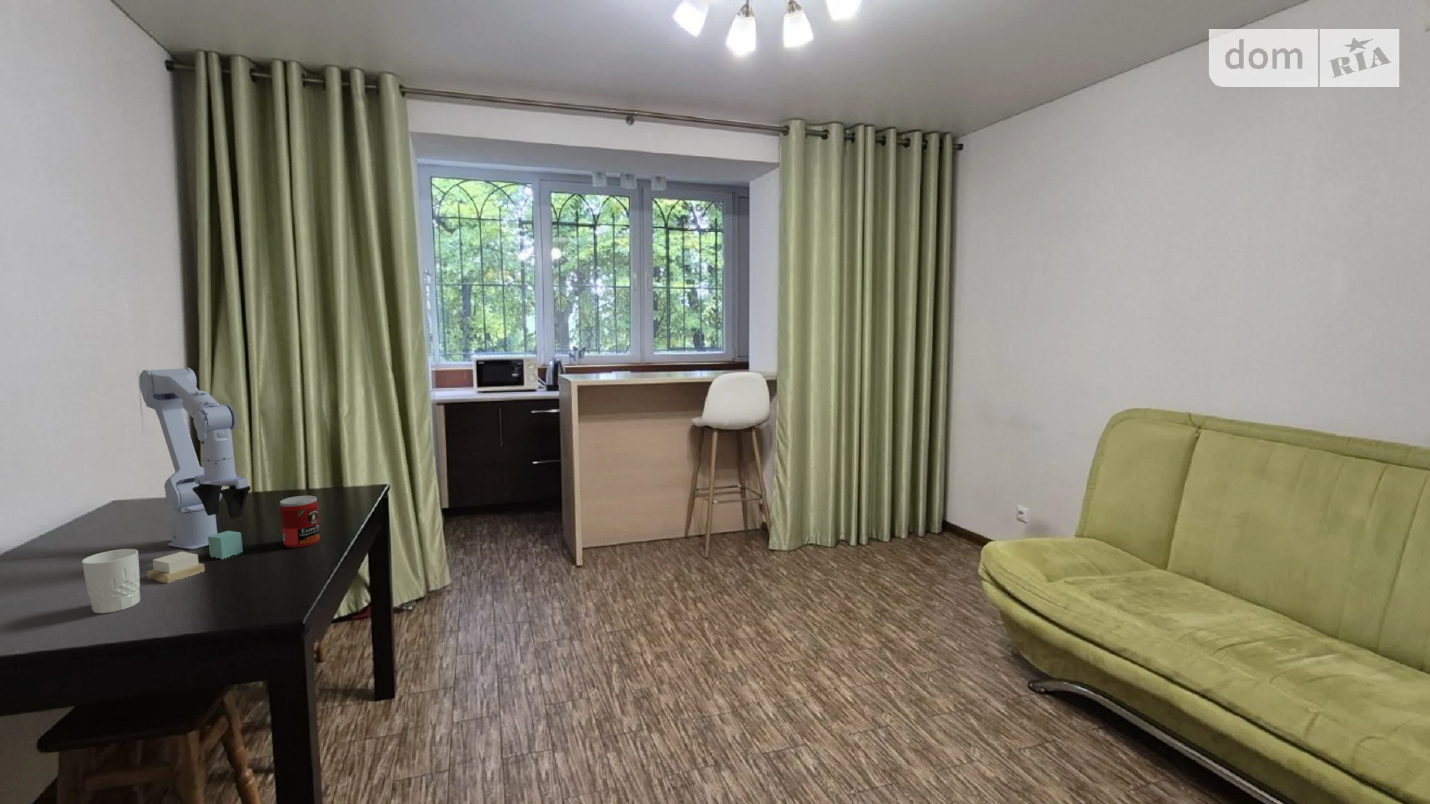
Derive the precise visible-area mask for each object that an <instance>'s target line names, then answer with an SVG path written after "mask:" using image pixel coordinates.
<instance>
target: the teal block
mask: <svg viewBox="0 0 1430 804" xmlns="http://www.w3.org/2000/svg"><path fill="white" fill-rule="evenodd" d="M242 540H243V539H242V533H241V532H239V531H231V530H226V531H223V532H219V533H218V532H217V534H215V535H211V536H208V542H209V545H208V549H209V550H208V551H209V557H210V556H211V557H210V558H213V557H216V558H215V559H218V558H220V560H225V559H228V558H231V557H230V556H232V555H235V556H238V555H240V554H239V553H241V552H243V553H244V548H243V541H242ZM237 554H238V555H237ZM241 554H242V553H241ZM227 557H228V558H227ZM232 557H233V556H232ZM224 558H225V559H224Z"/></svg>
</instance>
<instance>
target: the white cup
mask: <svg viewBox="0 0 1430 804" xmlns="http://www.w3.org/2000/svg"><path fill="white" fill-rule="evenodd" d="M139 559H140V558H139V550H137V549H136V548H135V549H134V548H121V549H114V550H108V551H103V552H99V553H95V554H92V555H90V556H87V557H85V558H83V559H82V560H81V565H82V569H83V575H84V580H85V581H84V582H85V586H86V589H87V594H88V597H89V600H90V606H91V611H92V612H93V613H95V614H107V613H114V612H120V611H123V610H126V609H129V608H131V607H134V606H136V605H137V603H138V604H139V602H140V601H141V591H140V586H141V583H140V582H141V581H140V573H141V572H140V563H139V561H140V560H139Z"/></svg>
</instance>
